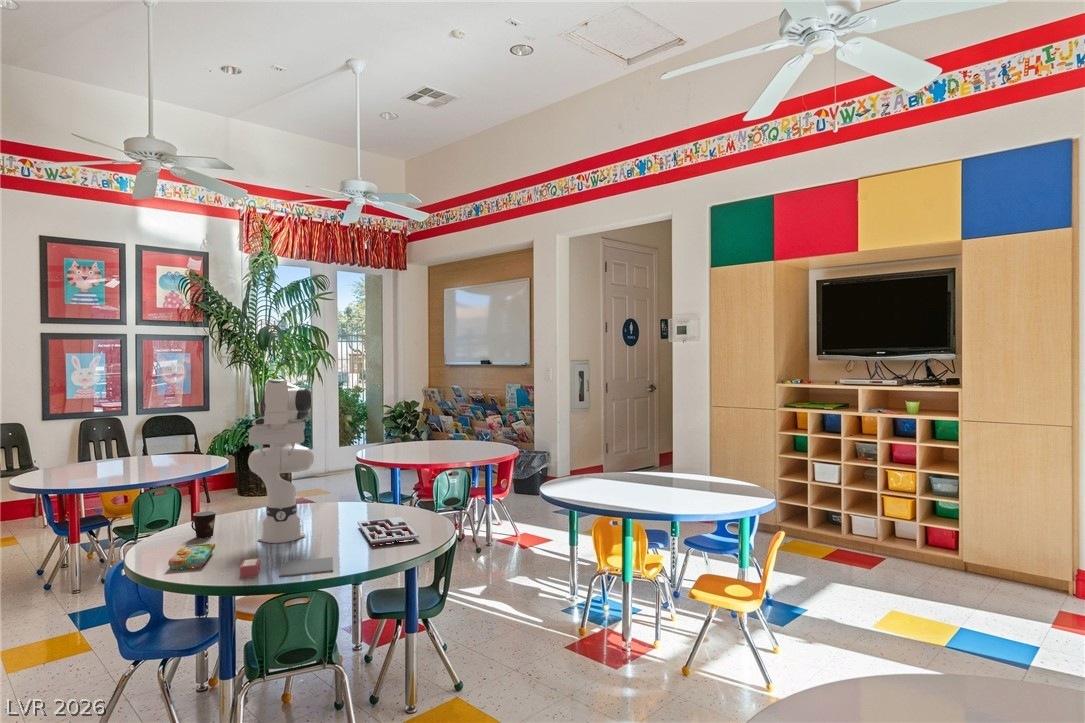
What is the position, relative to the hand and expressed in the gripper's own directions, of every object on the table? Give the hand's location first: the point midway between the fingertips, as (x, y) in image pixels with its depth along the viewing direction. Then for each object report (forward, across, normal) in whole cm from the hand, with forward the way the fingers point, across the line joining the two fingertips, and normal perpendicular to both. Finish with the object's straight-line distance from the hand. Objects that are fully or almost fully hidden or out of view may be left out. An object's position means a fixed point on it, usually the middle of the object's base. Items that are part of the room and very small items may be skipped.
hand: (276, 455), depth 251 cm
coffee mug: (+34, +33, -43) cm, 64 cm away
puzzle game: (+39, +30, -7) cm, 49 cm away
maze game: (+38, -43, -21) cm, 61 cm away
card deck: (+41, +8, +15) cm, 44 cm away
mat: (+41, -11, +15) cm, 45 cm away
